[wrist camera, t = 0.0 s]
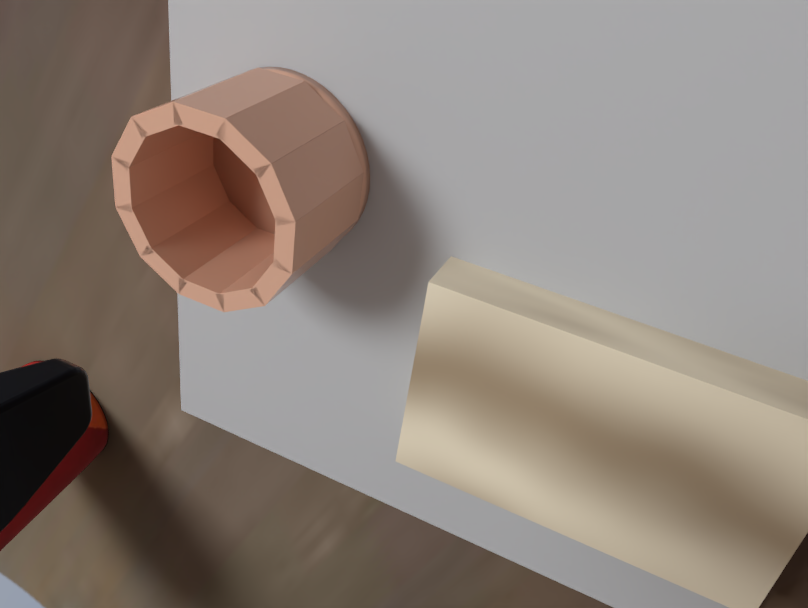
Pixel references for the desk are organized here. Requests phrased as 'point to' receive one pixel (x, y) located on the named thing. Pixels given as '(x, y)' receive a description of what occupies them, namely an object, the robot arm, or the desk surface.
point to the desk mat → (513, 215)
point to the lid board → (610, 432)
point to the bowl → (241, 185)
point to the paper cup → (62, 471)
